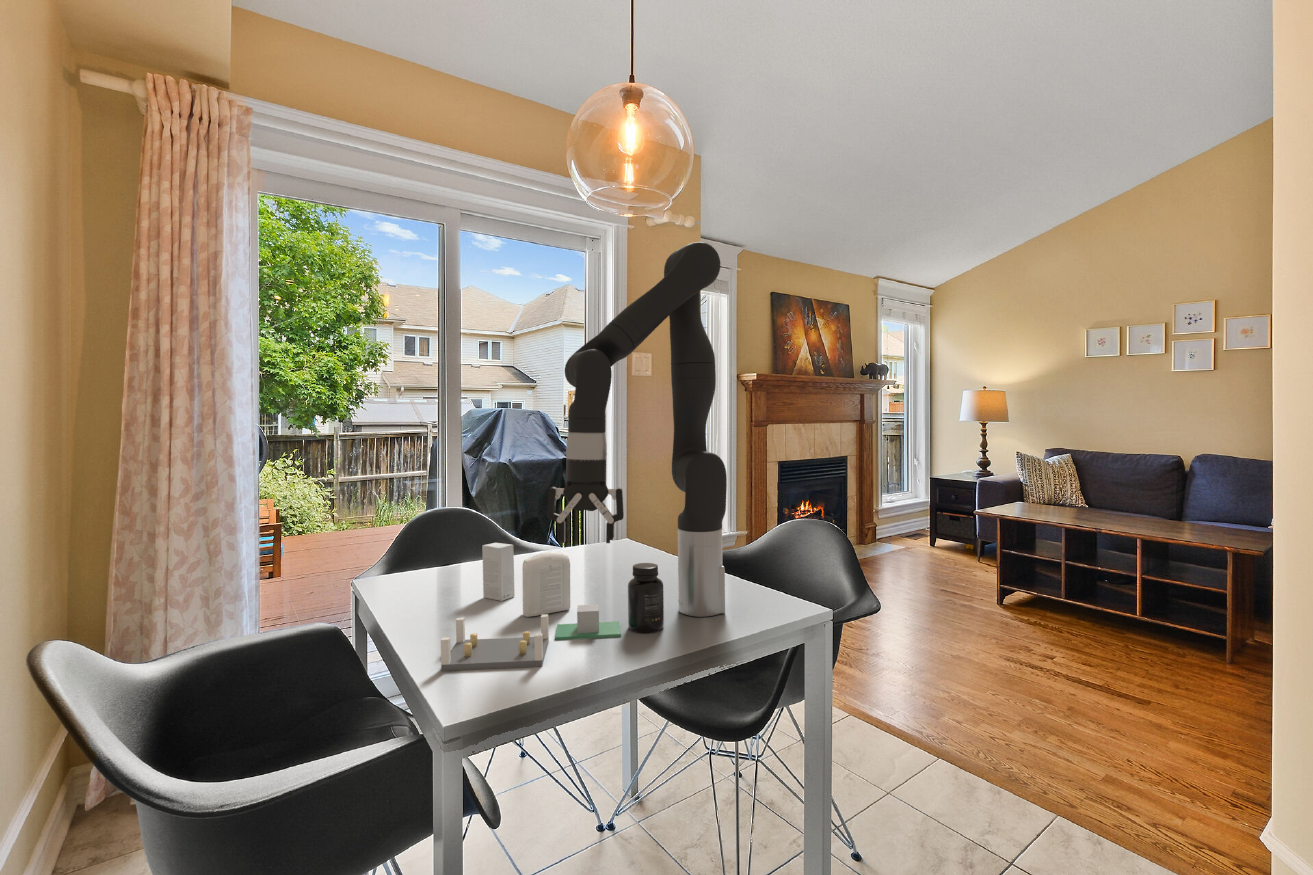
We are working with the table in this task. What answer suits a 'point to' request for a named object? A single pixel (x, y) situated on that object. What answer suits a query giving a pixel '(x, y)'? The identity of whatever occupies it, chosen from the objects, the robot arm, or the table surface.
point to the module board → (573, 631)
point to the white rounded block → (546, 584)
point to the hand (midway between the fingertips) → (585, 542)
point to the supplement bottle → (645, 599)
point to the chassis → (494, 650)
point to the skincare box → (498, 571)
